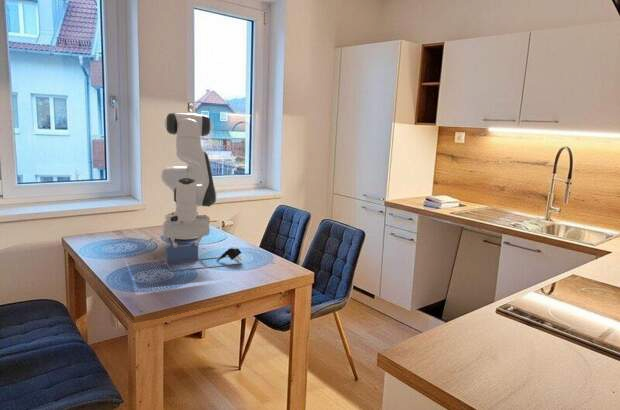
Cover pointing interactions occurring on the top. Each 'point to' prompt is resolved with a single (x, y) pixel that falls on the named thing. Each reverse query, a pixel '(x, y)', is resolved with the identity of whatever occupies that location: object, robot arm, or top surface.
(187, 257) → the frame
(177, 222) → the robot arm
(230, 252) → the power plug
